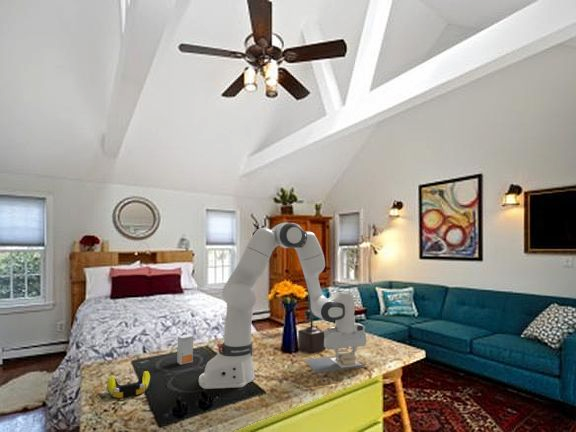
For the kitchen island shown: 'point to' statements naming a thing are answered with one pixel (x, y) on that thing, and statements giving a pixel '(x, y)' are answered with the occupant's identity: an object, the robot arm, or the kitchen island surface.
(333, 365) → the mat
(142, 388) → the gaming controller
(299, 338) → the manual coffee grinder
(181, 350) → the skincare box
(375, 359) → the kitchen island surface
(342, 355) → the tan rectangular block
